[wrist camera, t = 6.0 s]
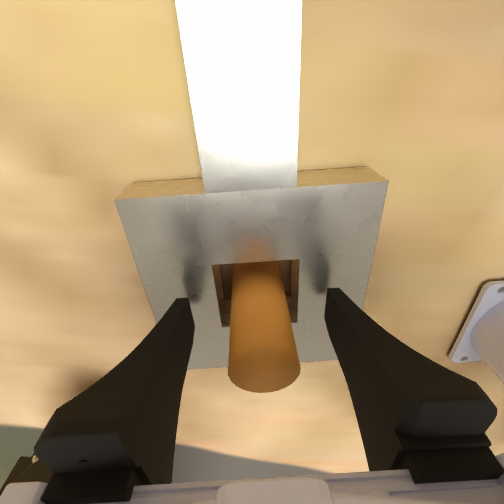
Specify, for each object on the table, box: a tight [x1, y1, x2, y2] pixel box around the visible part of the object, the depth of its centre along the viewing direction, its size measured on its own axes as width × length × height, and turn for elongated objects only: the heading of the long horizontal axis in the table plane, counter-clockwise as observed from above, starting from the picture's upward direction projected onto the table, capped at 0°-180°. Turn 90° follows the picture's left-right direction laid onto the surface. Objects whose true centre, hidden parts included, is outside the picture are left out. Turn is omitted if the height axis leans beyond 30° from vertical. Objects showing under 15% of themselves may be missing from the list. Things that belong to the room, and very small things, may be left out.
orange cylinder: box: [228, 261, 300, 393], centre depth 14 cm, size 3×3×7 cm
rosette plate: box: [114, 0, 389, 369], centre depth 14 cm, size 12×20×2 cm, turn 4°
